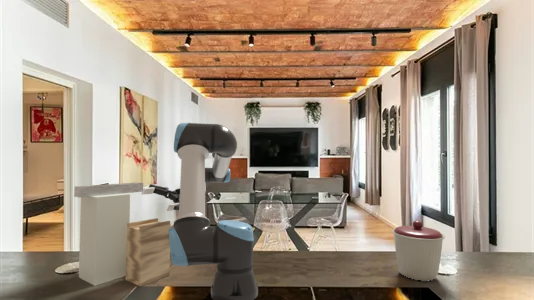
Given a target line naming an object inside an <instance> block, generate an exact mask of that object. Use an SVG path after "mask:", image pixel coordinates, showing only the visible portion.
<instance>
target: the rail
mask: <svg viewBox="0 0 534 300" xmlns="http://www.w3.org/2000/svg"><path fill="white" fill-rule="evenodd" d="M143 189H144V182H125V183H111V184H109V183H108V184H96V185H95V184H91V185H80V186H79V185H77V186H74V192H73V193H74V195H73V197H75V198H81V197H90V196H101V195H112V194H123V193H125V194H131V193H132V194H133V193H142V192H143Z"/></svg>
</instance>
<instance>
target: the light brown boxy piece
mask: <svg viewBox="0 0 534 300" xmlns="http://www.w3.org/2000/svg"><path fill="white" fill-rule="evenodd" d="M171 227H172V224H171V220H165V221H159V218H156V217H155V218H150V219H145V220H140V221H139V220H138V221H134V222H133V221H132V222H130V223H127V246H126V276H125V280H126V281H128V282H130V283H132V284H134V285H136V286H138V287H141V286H146V285H149V284H150V283H154V282H156V281H158V280H162V279H165V278H167V277H170V273H171V271H170V270H171V268H170V267H171V253H170V243H169V228H171Z"/></svg>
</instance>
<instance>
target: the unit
mask: <svg viewBox="0 0 534 300" xmlns="http://www.w3.org/2000/svg"><path fill="white" fill-rule="evenodd" d="M130 209H131V193H123V194H112V195H101V196H90V197H80V214H79V215H80V217H79V219H80V221H79V224H80V226H79V256H78V260H79V261H78V278H79V279H81V280H83V281H85V282H86V283H89V284H91V285H92V286H94V287H95V286H98V285H101V284H105V283H108V282H111V281H114V280H118V279H120V278H123V277H126V246H127V223H131V222H130V220H131V219H130V213H131V210H130Z"/></svg>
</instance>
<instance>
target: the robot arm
mask: <svg viewBox="0 0 534 300" xmlns="http://www.w3.org/2000/svg"><path fill="white" fill-rule="evenodd" d="M237 149H238V141H237V139H236V136H235V135H234V133H233V132H232V131H231V130H230V129H229V128H227V127H226V126H225V125H222V124H218V123H197V122H196V123H195V122H180V123H179V124H178V125H176V129H175V133H174V140H173V151H174V152H175V153H176V154H177V158H179V159H180V160H181V161H180V183H179V188H176V189H175V190H170V189H169V188H170V187H167V186H166V187H164V186H161V185H160V186H159V185H155V184H152V183H150V184H149V186H147V187H143V192H140V193H141V195H153V194H155V195H158V196H162V197H164V198H166V199H169V200H171V201H173V203H169V205H168V207H167V209H166V212H170V211H178V218H176V219H175V220H174V221H173V226H171V228H169V243H170V262H171V263H172V264H173V266H175V267H189V266H202V265H205V266H206V265H216V272H215V275H214V279H213V281H212V284H211V287H210V297H211V299H212V300H255V299H256V298H257V297H258V296H259V295H258V294H259V287H258V284H257V281H256V278H255V273H254V270H253V269H254V266H253V265H254V242H255V239H254V229H253V226H252V225H250V224H249V223H247V222H243V221H238V220H233V219H225V220H224V219H223V220H222V219H220V220H219V221H218V222H217V223H216V225H211V221H210V219H209V218H207V216H206V183H214V184H215V183H220V184H223V183H229V182H230V181H231V169H230V164H231V161H232V158H233V157H234V155H235V154H236V152H237ZM210 154H214V157H213V164H212V167H205V166H206V159H208V157H209V156H210Z"/></svg>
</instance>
